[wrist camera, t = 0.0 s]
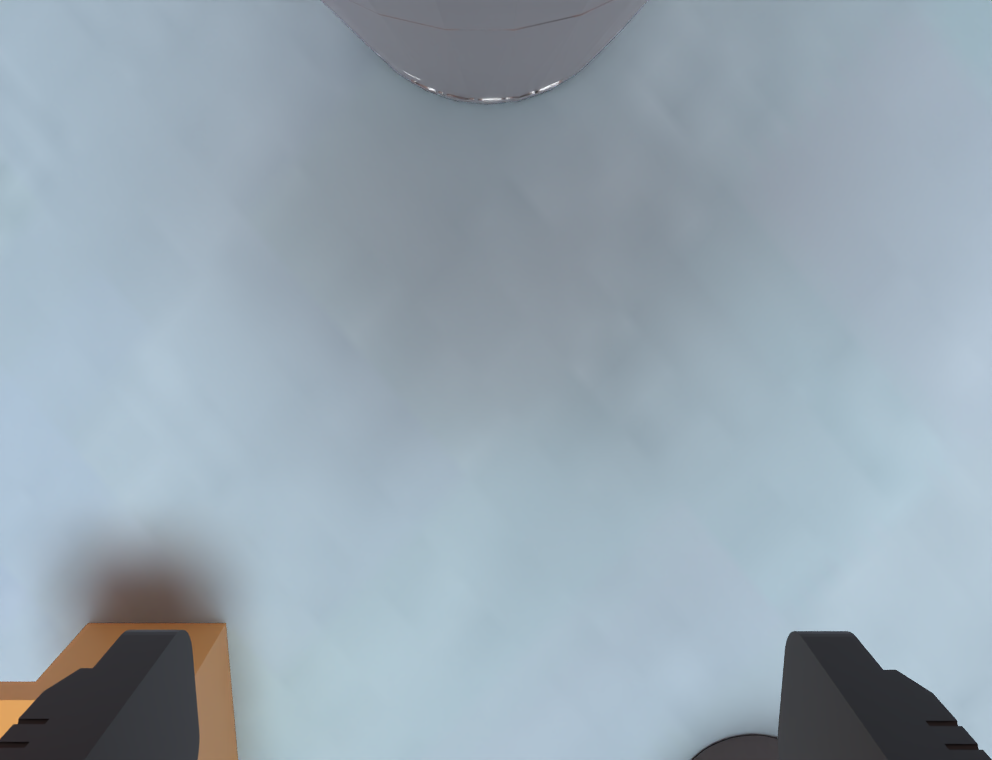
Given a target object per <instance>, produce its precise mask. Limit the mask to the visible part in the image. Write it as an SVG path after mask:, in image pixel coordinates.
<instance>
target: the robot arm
mask: <svg viewBox="0 0 992 760" xmlns="http://www.w3.org/2000/svg"><path fill="white" fill-rule="evenodd" d="M321 1H322V2H323V3H324V4H325V5H326V6H327V7H328V8H329V9H330V10H331V11H332V12H333V13H334V14H335V15H336V16H337V17H339V18H340V19H341V20H342V21H343V22H344V23H345V24H346V25H347V26H348V27H349V28H350V29H351V30H352V31H353V32H354V33H355V34H356V35H357V36H358V37H359V38H360V39H361V40H362V41H363V42H364V43H365V44H366V45H367V46H368V47H370V48H371V49H372V50H373V51H374V52H375V53H376V54H377V55H379V56H380V57H381V58H382V59H383V60H384V61H385V62H386V63H387V64H388V65H389V66H390V67H391V68H393V69H394V70H395V71H396V72H397V73H398V74H399V75H401V76H403V77H404V78H406V79H408V80H409V81H411V82H412V83H414V84H416V85H417V86H419V87H421V88H422V89H424V90H426V91H429V92H432V93H434V94H437V95H440V96H443V97H446V98H449V99H452V100H455V101H461V102H470V103H479V104H497V103H506V102H515V101H521V100H523V99H526V98H529V97H532V96H535V95H538V94H541V93H544V92H547V91H549V90H551V89H553V88H554V87H556V86H558V85H559V84H561V83H563V82H564V81H566V80H568V79H569V78H571V77H573V76H574V75H576V74H577V73H578V72H579V71H580V70H582V69H583V68H584V67H585V66H586V65H587V64H588V63H589V62H590V61H591V60H592V59H593V58H594V57H595V56H596V55H597V54H599V53H600V52H601V51H602V50H603V49H604V47H605V46H606V45H607V44H608V43H609V42H610V41H611V40H612V39H613V38H614V37H615V36H616V35H617V34H618V33H619V32H620V31H621V30H622V29H623V28H624V27H625V26H626V24H627V23H628V22H629V21H630V20H631V19H632V18H633V17H634V16H635V15H636V14H637V12H638V11H639V10H640V9H641V8H642V7H643V6H644V5H645V4H646V3H647V1H648V0H321ZM199 742H200V734H199V720H198V709H197V697H196V685H195V673H194V661H193V650H192V643H191V639H190V636H189V634H188V632H187V631H185V630H127V631H125V632H124V633H123V634H121V636H120V637H119V638H118V639H117V640H116V641H115V643H114V644H113V645H112V646H111V647H110V648H109V650H108V651H107V652H106V653H105V654H104V655H103V657H102V658H101V659H100V660H99V661H98V662H97V664H96V665H95V666H94V667H93V668H80V669H78V670H77V671H75V672H74V673H72V674H70V675H69V676H67V677H66V678H64V679H62V680H61V681H59V682H58V683H56V684H54V685H53V686H51V687H50V688H48V689H46V690H45V691H43V692H42V693H41V694H40V696H39V697H38V698H37V699H36V700H35V701H34V702H33V703H32V704H31V705H30V707H29V708H28V709H27V710H26V711H25V712H24V713H23V714H22V715H21V716H20V717H19V719H18V724H13V725H12V726H11V727H10V728H9V730H8V731H7V732H6V733H5V734H4V735H3V736H2V737H1V738H0V760H198V753H199ZM778 752H779V760H991V758H990V757H989V756H988V755H987V754H986V753H985V752H984V751H983V750H979V749H978V744H977V743H976V742H975V740H974V739H973V738H972V737H971V736H970V735H969V734H968V732H967V731H966V730H965V729H964V728H963V727H962V726H958V725H957V720H956V719H955V718H954V717H953V716H952V714H951V713H950V712H949V711H948V710H947V709H946V708H945V707H944V705H943V704H942V703H941V702H940V701H939V700H938V699H937V697H936V696H935V695H934V694H933V693H932V692H930V691H928V690H927V689H925V688H924V687H922V686H921V685H919V684H917V683H916V682H914V681H913V680H911V679H910V678H908V677H906V676H905V675H903V674H902V673H900V672H899V671H897V670H883V669H882V668H881V667H880V665H879V664H878V663H877V662H876V661H875V659H874V658H873V657H872V656H871V654H870V653H869V652H868V651H867V650H866V648H865V647H864V646H863V645H862V644H861V642H860V641H859V640H858V639H857V637H856V636H855V635H854V634H853V633H851V632H848V631H794V632H791V633H790V635H789V636H788V639H787V642H786V646H785V656H784V668H783V679H782V691H781V703H780V715H779V727H778Z"/></svg>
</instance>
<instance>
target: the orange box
mask: <svg viewBox="0 0 992 760" xmlns="http://www.w3.org/2000/svg"><path fill="white" fill-rule="evenodd" d="M127 630H185V631H187V632H188V634H189V636H190V639H191V643H192V650H193V661H194V673H195V685H196V697H197V709H198V720H199V734H200V742H199V753H198V760H238V754H237V743H236V731H235V720H234V709H233V697H232V686H231V675H230V663H229V652H228V641H227V629H226V623H88V624H87V625H86V626H85V627H84V628H83V629H82V630H81V631H80V633H79V634H78V635H77V636H76V637H75V638H74V639H73V640H72V642H71V643H70V644H69V645H68V646H67V647H66V648H65V649H64V651H63V652H62V653H61V654H60V655H59V656H58V657H57V658H56V659H55V661H54V662H53V663H52V664H51V665H50V666H49V667H48V668H47V670H46V671H45V672H44V673H43V674H42V675H41V676H40V677H39V679H38V680H37V681H36V682H0V738H1V737H2V736H3V735H4V734H5V733H6V732H7V731H8V730H9V728H10V727H11V726H12V725H13V724H18V719H19V717H20V716H21V715H22V714H23V713H24V712H25V711H26V710H27V709H28V708H29V707H30V705H31V704H32V703H33V702H34V701H35V700H36V699H37V698H38V697H39V696H40V694H41V693H42V692H43V691H45V690H46V689H48V688H50V687H51V686H53V685H54V684H56V683H58V682H59V681H61V680H62V679H64V678H66V677H67V676H69V675H70V674H72V673H74V672H75V671H77V670H78V669H80V668H93V667H94V666H95V665H96V664H97V662H98V661H99V660H100V659H101V658H102V657H103V655H104V654H105V653H106V652H107V651H108V650H109V648H110V647H111V646H112V645H113V644H114V643H115V641H116V640H117V639H118V638H119V637H120V636H121V634H123V633H124V632H125V631H127Z"/></svg>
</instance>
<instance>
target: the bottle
mask: <svg viewBox="0 0 992 760" xmlns="http://www.w3.org/2000/svg"><path fill="white" fill-rule="evenodd" d="M693 760H779V752H778V739H776V738H771V737H766V736H742V737H735V738H730V739H727V740H725V741H722V742H720V743H717V744H715V745H713V746H710V747H709V748H707V749H706V750H704V751H703V752H701V753H700V754H699V755H698V756H697V757H695V758H694V759H693Z"/></svg>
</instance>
